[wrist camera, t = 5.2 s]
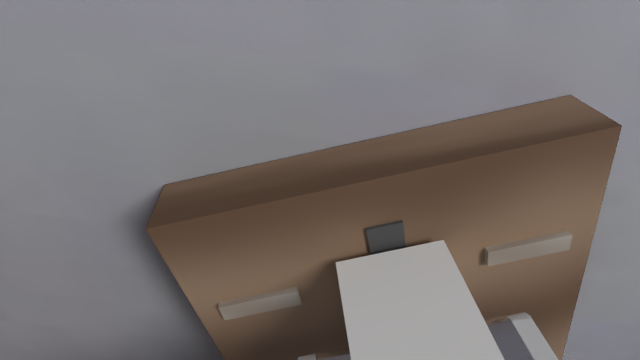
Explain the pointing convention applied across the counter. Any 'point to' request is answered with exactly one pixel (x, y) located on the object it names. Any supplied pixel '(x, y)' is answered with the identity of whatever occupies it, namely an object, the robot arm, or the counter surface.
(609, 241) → the counter surface
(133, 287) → the counter surface
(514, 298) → the fader board
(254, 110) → the counter surface
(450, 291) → the fader tab
